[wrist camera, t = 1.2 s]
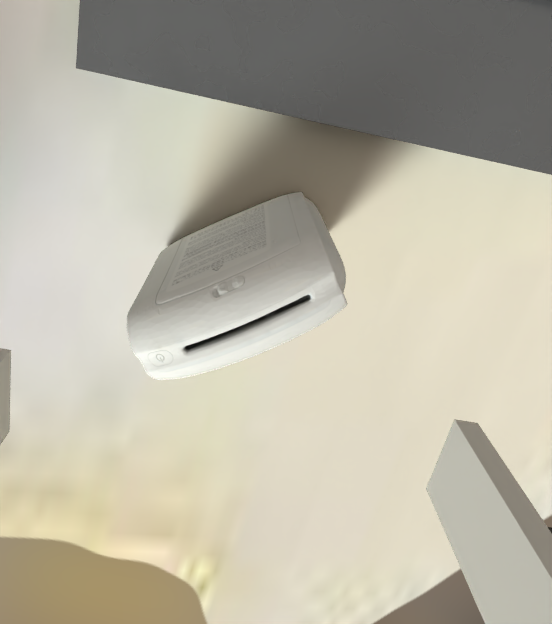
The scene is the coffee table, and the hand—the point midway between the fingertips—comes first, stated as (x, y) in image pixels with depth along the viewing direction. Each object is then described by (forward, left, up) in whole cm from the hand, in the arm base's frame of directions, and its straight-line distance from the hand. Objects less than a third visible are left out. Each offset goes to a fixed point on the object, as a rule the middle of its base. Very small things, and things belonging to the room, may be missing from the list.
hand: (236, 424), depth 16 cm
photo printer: (0, 0, -19) cm, 19 cm away
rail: (+6, +13, -18) cm, 23 cm away
